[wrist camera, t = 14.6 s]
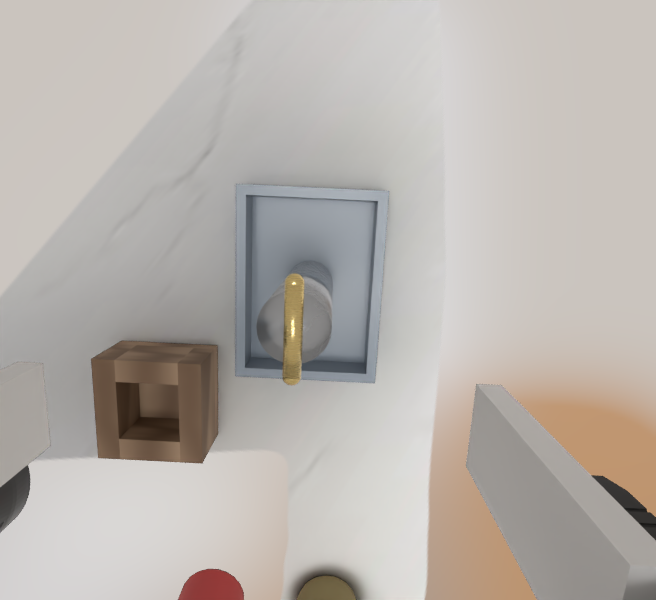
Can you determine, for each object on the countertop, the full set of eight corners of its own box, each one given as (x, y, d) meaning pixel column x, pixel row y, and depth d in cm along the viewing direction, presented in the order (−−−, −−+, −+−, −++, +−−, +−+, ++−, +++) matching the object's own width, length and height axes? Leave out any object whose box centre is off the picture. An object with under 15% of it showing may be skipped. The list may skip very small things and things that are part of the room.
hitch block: (126, 428, 41) (98, 458, 36) (121, 340, 39) (91, 358, 34) (218, 433, 41) (202, 463, 36) (217, 345, 39) (200, 364, 34)
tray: (244, 362, 39) (235, 376, 36) (245, 186, 36) (235, 183, 33) (371, 368, 39) (374, 383, 36) (384, 193, 36) (389, 190, 32)
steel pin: (286, 315, 37) (252, 386, 22) (288, 248, 36) (253, 272, 21) (331, 317, 37) (328, 390, 22) (334, 250, 36) (334, 276, 21)
